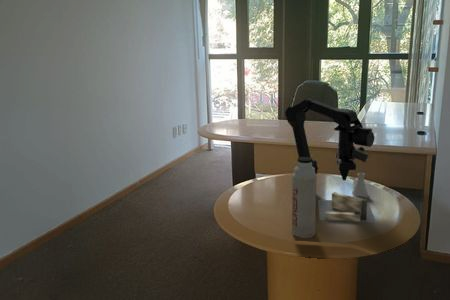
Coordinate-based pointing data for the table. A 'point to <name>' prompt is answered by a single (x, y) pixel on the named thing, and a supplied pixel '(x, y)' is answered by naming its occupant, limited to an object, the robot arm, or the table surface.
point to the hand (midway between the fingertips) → (344, 180)
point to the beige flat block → (346, 203)
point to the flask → (360, 186)
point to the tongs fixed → (348, 214)
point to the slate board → (326, 206)
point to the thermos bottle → (304, 198)
